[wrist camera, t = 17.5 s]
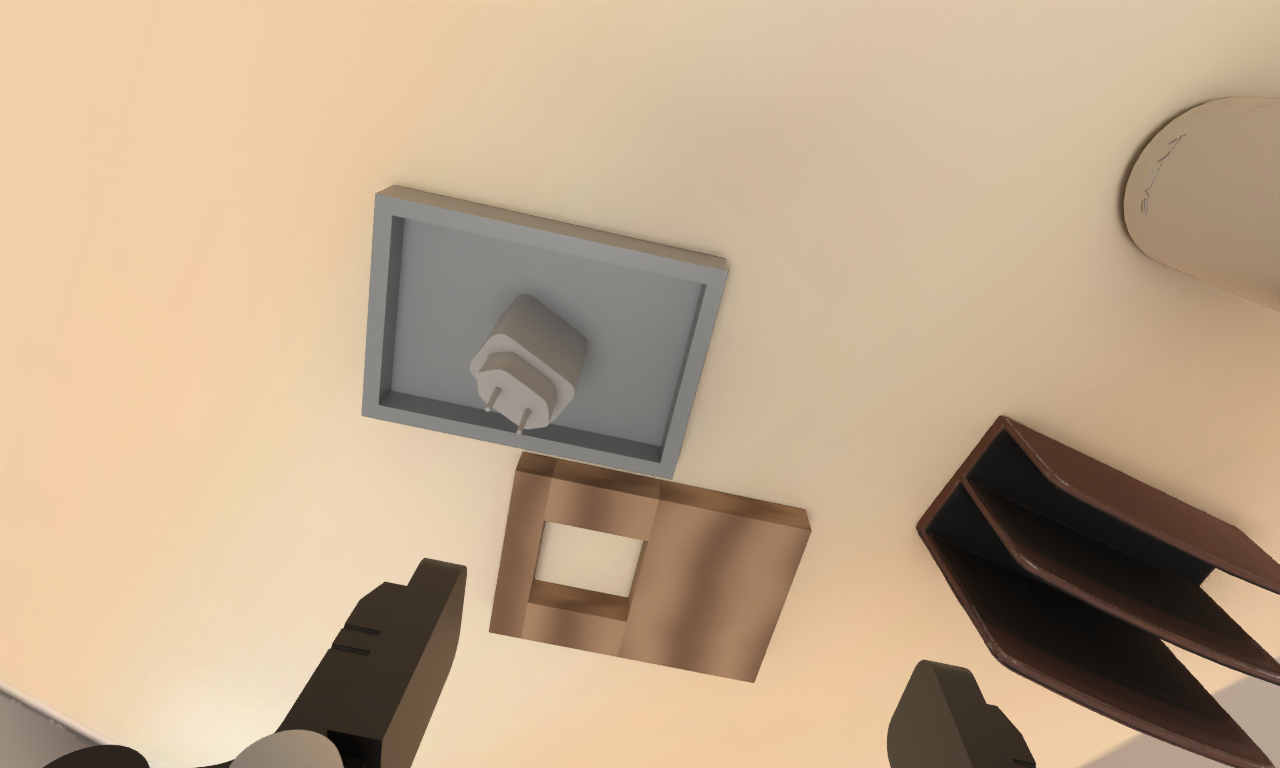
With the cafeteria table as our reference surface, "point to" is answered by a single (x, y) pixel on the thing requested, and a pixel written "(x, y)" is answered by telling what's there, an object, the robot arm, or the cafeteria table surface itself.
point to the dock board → (652, 569)
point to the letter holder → (1099, 586)
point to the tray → (566, 284)
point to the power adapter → (529, 364)
